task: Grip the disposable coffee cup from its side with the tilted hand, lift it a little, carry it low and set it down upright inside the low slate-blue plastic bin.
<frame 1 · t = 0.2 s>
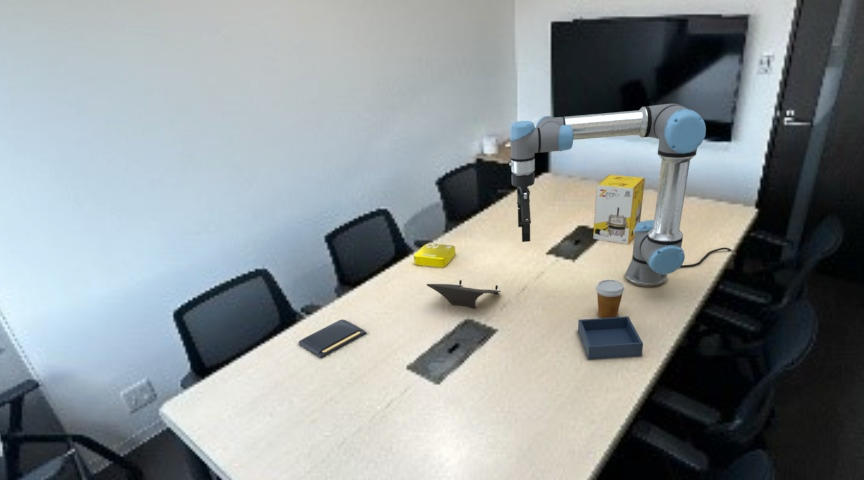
hand: (524, 233, 186), 28 cm above the table, tool pointing down, fingers open, 13 cm apart
bin: (608, 343, 175), on the table
dark gray curved stand: (468, 301, 207), on the table
packaging box: (616, 235, 249), on the table
disposable coffee cup: (607, 316, 190), on the table
element tile: (435, 259, 241), on the table
wallet: (332, 339, 191), on the table
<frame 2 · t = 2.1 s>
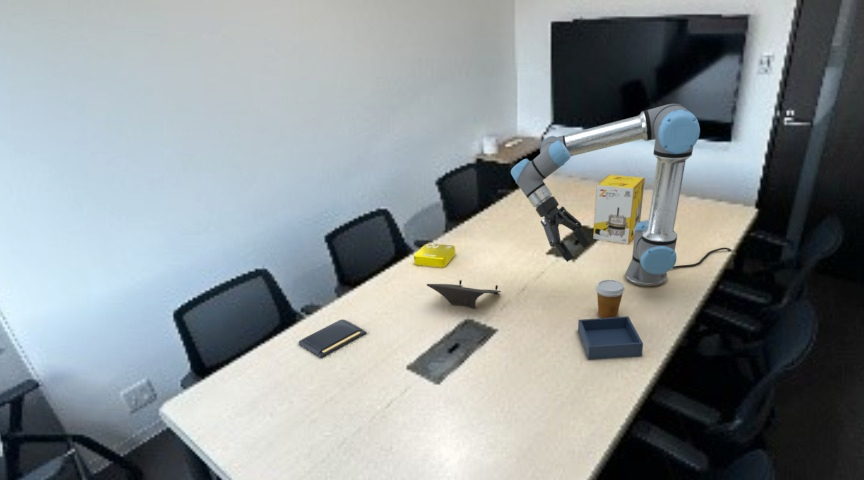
hand: (579, 252, 185), 22 cm above the table, tool tilted 40°, fingers open, 13 cm apart
nothing on the table moved.
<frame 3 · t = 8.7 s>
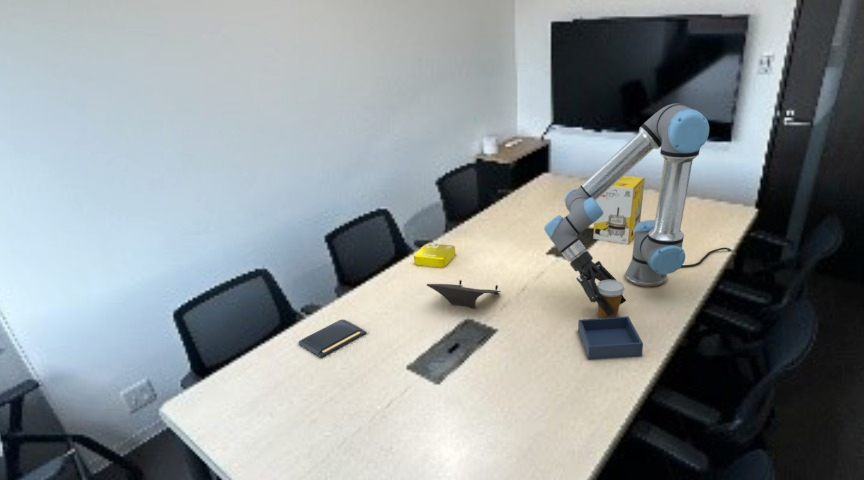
hand: (617, 308, 186), 4 cm above the table, tool tilted 45°, fingers closed on disposable coffee cup, 9 cm apart
disposable coffee cup: (607, 316, 190), on the table, touching gripper
everything else where it was.
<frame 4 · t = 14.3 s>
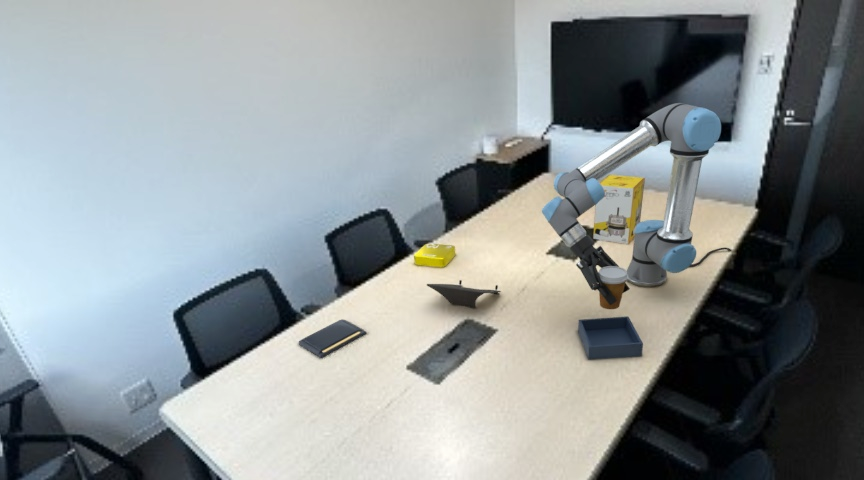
hand: (620, 296, 173), 14 cm above the table, tool tilted 45°, fingers closed on disposable coffee cup, 9 cm apart
disposable coffee cup: (609, 305, 177), point 10 cm above the table, touching gripper
everything else where it was.
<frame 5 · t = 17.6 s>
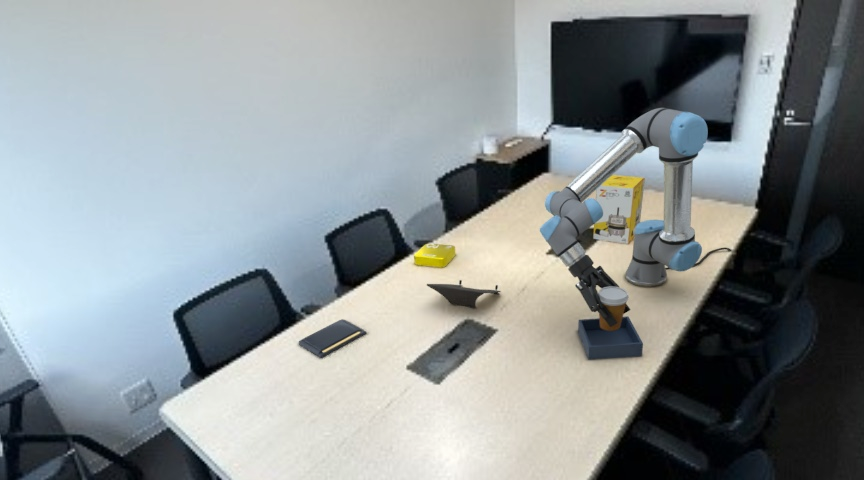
hand: (620, 318, 168), 11 cm above the table, tool tilted 45°, fingers closed on disposable coffee cup, 9 cm apart
disposable coffee cup: (609, 326, 172), point 6 cm above the table, touching gripper
everything else where it was.
when the fingers open (5 cm above the table, at t = 20.1 s): disposable coffee cup stays where it is, resting on bin.
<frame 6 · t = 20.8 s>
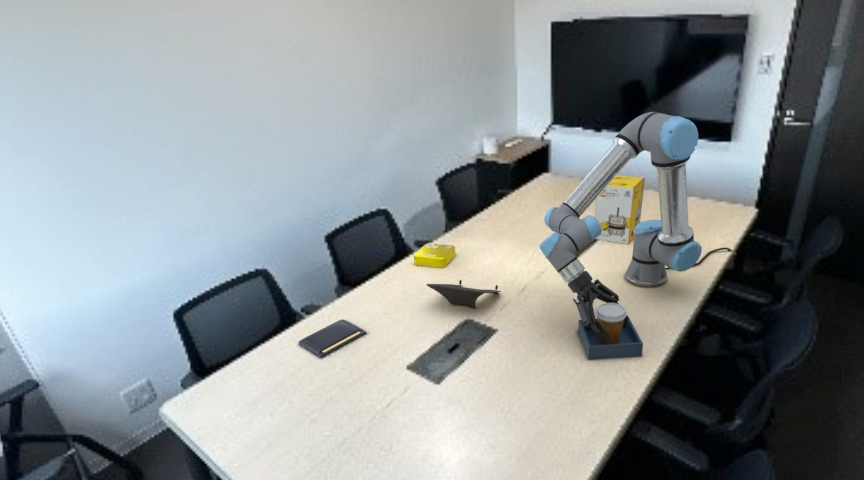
hand: (616, 329, 171), 6 cm above the table, tool tilted 45°, fingers open, 13 cm apart
disposable coffee cup: (608, 341, 175), point 1 cm above the table, touching bin
everything else where it was.
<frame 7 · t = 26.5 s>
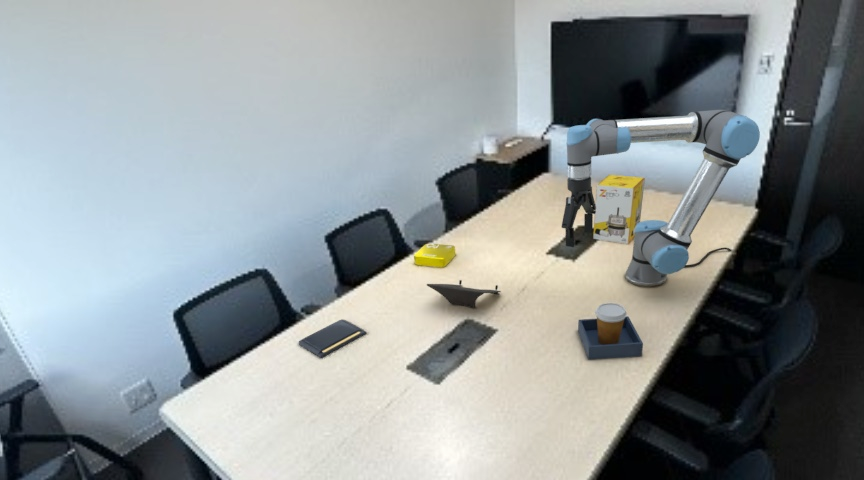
hand: (579, 239, 184), 26 cm above the table, tool pointing down, fingers open, 13 cm apart
nothing on the table moved.
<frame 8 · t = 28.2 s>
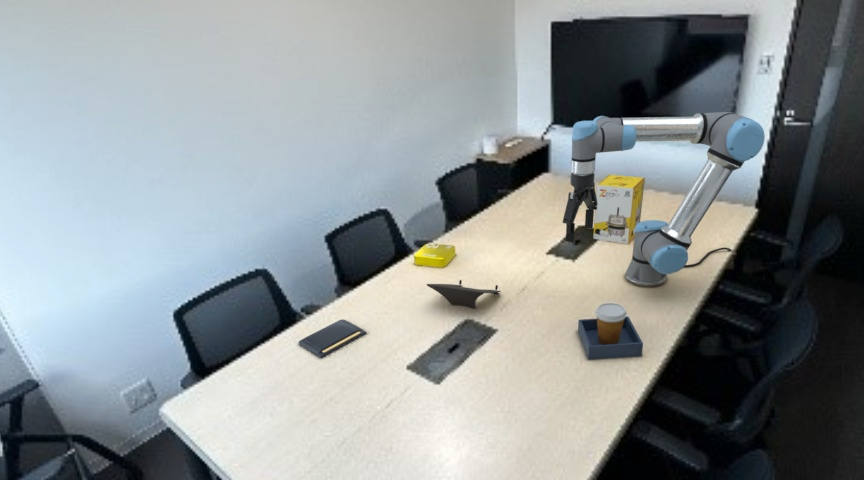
hand: (579, 234, 185), 27 cm above the table, tool pointing down, fingers open, 13 cm apart
nothing on the table moved.
at the end: disposable coffee cup inside the target area in the bin (0.1 cm from its centre), point 0.6 cm above the bin's base; disposable coffee cup tilted 0°; the gripper is holding nothing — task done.
